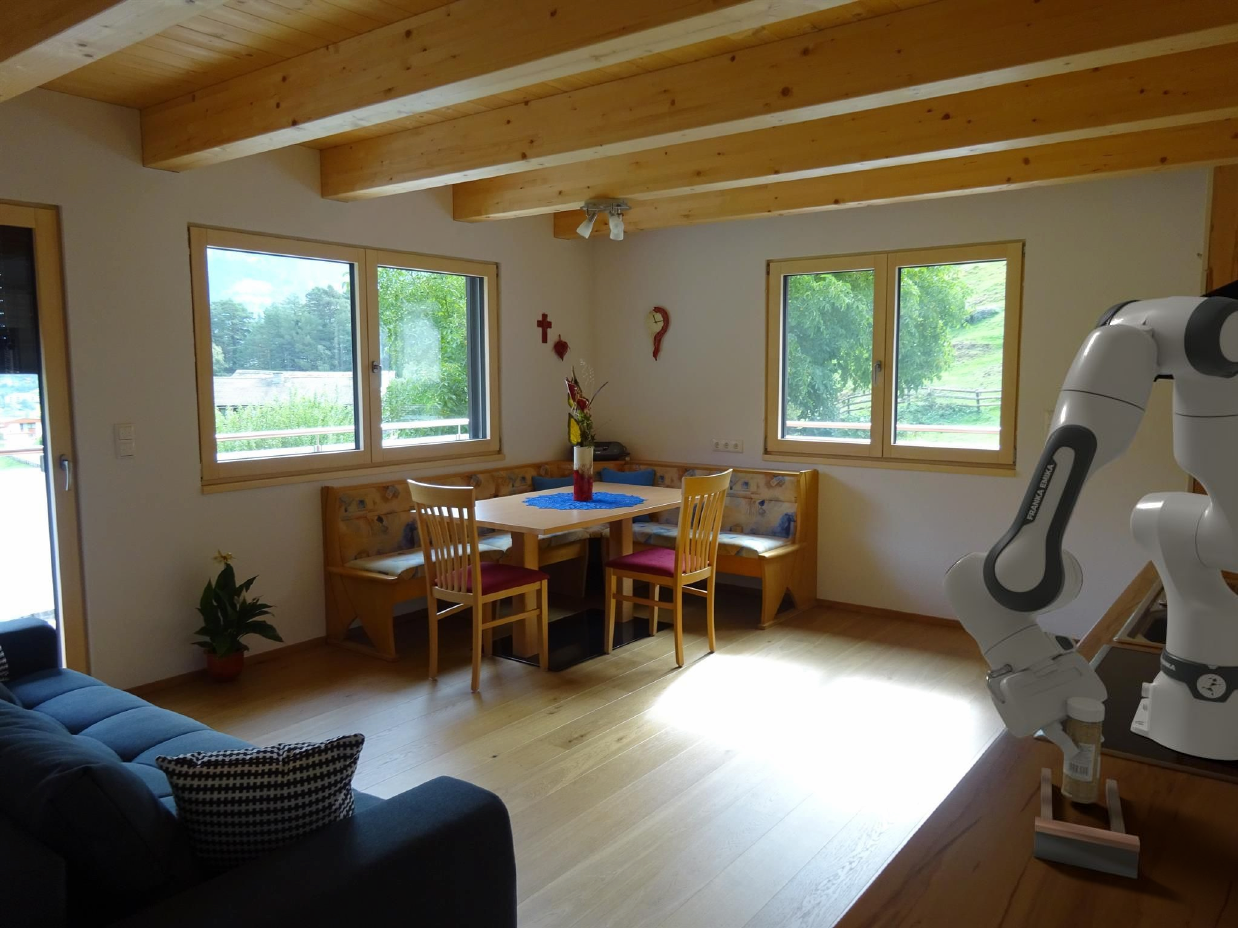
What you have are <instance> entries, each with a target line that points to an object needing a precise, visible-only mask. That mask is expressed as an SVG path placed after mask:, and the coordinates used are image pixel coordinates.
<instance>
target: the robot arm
mask: <svg viewBox="0 0 1238 928" xmlns="http://www.w3.org/2000/svg"><path fill="white" fill-rule="evenodd" d="M1158 375H1161V376H1162V375H1163V376H1166V375H1167V376H1171V375H1172V377H1173V387H1172V436H1173V437H1172V443H1173V457H1174V459H1175V462H1176V463H1177V465H1178V466H1179V467H1180V468H1181V469H1182V470H1183V471H1184V472H1185V473H1187V474H1188V475H1190V476H1191V477H1192V478H1194V479H1196V480H1197V482H1198V483H1200V484H1201V486H1202V487H1203V488H1204V490H1205V492H1206V494H1201V493H1193V492H1187V491H1160V492H1159V491H1158V492H1150V493H1147V494H1146V495H1144V496H1143V497H1142V498H1140V499H1139V501H1137V503H1136V504H1135V506H1134V508H1133V509H1132V511H1131V514H1130V518H1129V530H1130V534H1131V538H1132V539H1133V541H1134V543H1135V544H1136V546H1137V547H1139V548H1140V549H1141V550H1142V551H1143V553H1145V554H1146V555H1147V556H1148V557H1149V559H1150V561H1151V562H1152V563H1153V566H1154V568H1155V569H1156V571H1157V572H1158V575H1159V577H1160V579H1161V582H1162V585H1163V588H1164V591H1165V592H1164V593H1165V596H1166V604H1167V605H1166V606H1167V607H1166V608H1167V618H1166V619H1167V621H1166V623H1167V625H1166V641H1165V643H1166V644H1165V646H1163V648H1162V653H1161V655H1160V664H1159V665H1160V671H1159V673H1158V674H1157V675H1156V676H1155V678H1154V679H1153V682H1152V683H1150V682H1142V687H1141V697H1144V698H1142V699H1141V700H1140V703H1139V705H1138V708H1137V709H1136V713H1135V715H1134V718H1133V720H1132V722H1131V726H1130V731H1131V732H1133V733H1135V734H1137V735H1140V736H1144V737H1146V738H1149V739H1151V740H1153V741H1154V742H1156V743H1157V744H1160V745H1162V746H1163V747H1167V748H1169V749H1171V750H1174V751H1177V752H1179V753H1184V754H1186V755H1187V754H1188V755H1190V756H1194V757H1201V758H1206V759H1211V760H1222V761H1235V760H1236V761H1237V760H1238V594H1236V593H1235V592H1234V591H1233V590H1232V589H1231V588H1230V587H1229V585H1228V584H1227V583H1226V581H1225V579H1224V577H1223V574H1222V571H1225V572H1228V573H1229V572H1230V573H1234V574H1238V299H1234V298H1230V297H1224V296H1219V295H1218V296H1211V297H1205V296H1191V295H1189V296H1188V295H1174V296H1173V295H1172V296H1168V297H1161V298H1150V299H1145V300H1144V299H1143V300H1141V299H1132V300H1127V301H1123V302H1119V303H1116V304H1114V305H1112V306H1110V307H1109V308H1108V309H1107V310H1106V311H1104V313H1103V314H1102V315H1101V317H1099V319H1098V321H1097V323H1096V325H1095V328H1094V330H1092V331H1091V332H1090V333H1089V334H1088V335H1087V337H1086V338H1085V340H1084V342H1083V343H1082V344H1081V347H1080V348H1079V350H1078V351H1077V354H1076V355H1075V357H1074V359H1073V361H1072V363H1071V365H1070V367H1069V369H1068V372H1067V375H1066V376H1065V379H1064V381H1063V384H1062V387H1061V390H1060V393H1059V395H1058V398H1057V401H1056V405H1055V408H1054V411H1053V415H1052V418H1051V422H1050V424H1049V425H1050V426H1049V430H1048V433H1047V437H1046V440H1045V443H1044V447H1043V450H1042V453H1041V455H1040V458H1039V460H1038V462H1037V464H1036V468H1035V469H1034V471H1033V474H1032V477H1031V479H1030V481H1029V484H1028V486H1027V489H1026V492H1025V494H1024V497H1023V499H1022V501H1021V504H1020V507H1019V509H1018V511H1017V514H1016V516H1015V518H1014V520H1013V522H1012V523H1011V526H1010V527H1009V529H1008V530H1007V531H1006V532H1005V534H1003V535H1002V536H1001V538H1000V539H999V540H998V541H996V543H995V544H994V545H993V546H992V547H991V549H990V550H989V551H987V552H980V551H973V552H969V553H967V554H965V555H964V556H962V557H960V558H959V559H957V561H956V562H954V563H953V564H952V565H951V566H950V567H949V568H948V570H947V571H946V573H945V575H944V577H943V579H942V585H941V586H942V590H943V593H944V595H945V598H946V600H947V602H948V604H949V605H950V607H951V609H952V611H953V613H954V614H955V616H956V617H957V619H958V621H959V622H960V623H961V625H962V627H963V628H964V630H965V631H966V632H967V633H968V634H969V635H970V636H972V638H974V640H975V641H976V642H977V644H978V647H979V650H980V653H981V654H982V657H983V658H984V659H985V661H986V662H987V664H988V665H989V666H990V668H991V670H989V671H988V672H987V673H986V679H985V680H986V682H985V685H986V687H987V689H988V691H989V696H990V699H991V701H992V703H993V705H994V708H995V709H996V711H997V713H998V715H999V716H1000V718H1001V719H1002V721H1003V724H1004V725H1005V727H1006V728H1007V730H1008V732H1010V734H1012V735H1013V736H1014V737H1016V738H1017V739H1020V740H1021V739H1023V738H1025V737H1027V736H1030V735H1032V734H1034V733H1037V732H1039V731H1042V733H1043V734H1044V736H1045V738H1047V739H1048V740H1049V741H1051V742H1052V743H1053V744H1055V745H1057V746H1058V747H1060V749H1061V751H1062V753H1063V754H1064V753H1065V755H1066V756H1067V757H1068V758H1071V757H1073V756H1075V755H1077V754H1079V753H1080V752H1082V747H1081V746H1080V745H1079V743H1078V742H1077V740H1076V739H1073V740H1072V739H1071V738H1070V737H1069V736H1068V735H1066V732H1064V731H1063V726H1062V724H1061V723H1060V722H1062V721H1064V720H1067V716H1068V714H1067V710H1066V707H1067V700H1068V699H1070V698H1073V697H1085V698H1090V699H1094V700H1097V701H1099V702H1101V703H1103V701H1106V699H1108V693H1107V689H1106V686H1105V684H1104V683H1103V682H1102V681H1103V680H1102V679H1100V677H1099V675H1098V674H1097V673H1096V672H1095V670H1094V669H1093V667H1092V665H1091V664H1090V663H1089V662H1088V661H1087V659H1086V658H1085V657H1084V656H1083V655H1082V654H1080V653H1078V652H1077V651H1076V650H1078V645H1077V644H1076V642H1075V641H1074V639H1073V638H1072V637H1071V636H1069V635H1064V634H1063V635H1062V634H1058V633H1057V634H1056V633H1052V632H1049V631H1044V630H1043V629H1042V627H1041V626H1040V625H1039V623H1038V622H1037V620H1036V619H1037V617H1039V616H1042V615H1044V614H1048V613H1049V612H1053V611H1057V610H1060V609H1063V608H1065V607H1067V606H1068V605H1069V604H1071V603H1072V602H1073V601H1074V600H1075V599H1076V598H1077V597H1078V595H1079V594H1080V592H1081V589H1082V587H1083V582H1084V576H1083V570H1082V566H1081V565H1080V563H1079V562H1078V561H1079V560H1077V559H1076V557H1075V556H1074V555H1073V554H1072V553H1070V552H1069V551H1068V550H1067V549H1064V548H1063V541H1064V538H1065V535H1066V533H1067V530H1068V528H1069V525H1070V522H1071V520H1072V518H1073V515H1074V513H1075V510H1076V508H1077V505H1078V502H1079V500H1080V499H1081V498H1080V497H1081V495H1082V493H1083V490H1084V489H1085V486H1086V485H1087V484H1088V482H1089V481H1090V480H1091V478H1092V477H1093V476H1094V475H1095V474H1096V473H1098V472H1099V471H1100V470H1102V469H1103V468H1105V467H1107V466H1109V465H1111V464H1113V463H1116V462H1117V461H1118V460H1120V459H1122V458H1123V457H1124V456H1125V454H1126V453H1127V452H1128V451H1129V448H1130V446H1131V445H1132V443H1133V441H1134V440H1135V438H1136V435H1137V434H1138V432H1139V430H1140V428H1141V424H1142V423H1143V420H1144V417H1145V414H1146V411H1147V408H1148V404H1149V402H1150V399H1151V398H1150V397H1151V395H1152V390H1153V385H1154V382H1155V378H1156V377H1157V376H1158ZM1104 741H1105V737H1104V735H1101V743H1103V742H1104Z"/></svg>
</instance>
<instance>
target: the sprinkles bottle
mask: <svg viewBox="0 0 1238 928" xmlns="http://www.w3.org/2000/svg"><path fill="white" fill-rule="evenodd" d="M1066 710H1067V714H1068V716H1067V718H1066V727H1065V728H1066V729H1065V730H1066V731H1065V734H1066V735H1068V736H1069V737H1070V738H1071V739H1072V740H1073V739H1076V740H1077V742H1078V743H1079V745H1080V746H1081V747H1082V752H1080V753H1079V754H1077V755H1075V756H1073V757H1071V758H1068V757H1067V756H1066V755H1065V753H1064V752H1063V767H1062V770H1063V773H1062V786H1061V789H1060V792H1061V794H1062V795H1063V796H1064V797H1065V798H1066V799H1068V800H1070V801H1073V802H1074V803H1075V802H1076V803H1080V804H1094V803H1096V802H1097V801H1098V799H1099V795H1098V790H1099V777H1100V771H1101V747H1102V742H1101V735H1102V733H1103V732H1102V731H1103V722H1104V720H1105V711H1106V708H1105V704H1104V703H1103V702H1099V701H1097V700H1094V699H1090V698H1085V697H1073V698H1070V699H1068V700H1067V707H1066ZM1102 736H1103V735H1102Z"/></svg>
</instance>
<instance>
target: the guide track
mask: <svg viewBox="0 0 1238 928" xmlns="http://www.w3.org/2000/svg"><path fill="white" fill-rule="evenodd" d="M1117 783H1118V782H1117V780H1115V779H1110V778H1106V780H1105V798H1106V805H1107V806H1106V807H1107V813H1108V821H1109V826H1110V830H1105V829H1102V828H1101V829H1100V828H1096V827H1091V826H1087V825H1081V824H1080V825H1079V824H1075V823H1071V822H1065V821H1062V820H1055V819H1053V803H1052V802H1053V798H1052V793H1053V792H1052V789H1053V788H1052V769H1051V768H1046V767H1041V771H1040V816H1035V818H1034V819H1035V820H1034V840H1033V841H1034V842H1033V843H1034V844H1033V857H1034V858H1038V859H1043V860H1047V861H1052V862H1056V863H1061V864H1065V865H1070V866H1075V867H1080V868H1083V869H1084V868H1085V869H1090V870H1095V871H1099V872H1103V873H1108V874H1114V875H1117V876H1122V877H1128V878H1131V879H1135V880H1137V879H1138V870H1139V869H1138V867H1139V858H1140V857H1139V856H1140V850H1141V844H1140V838H1139V836H1137V835H1132V834H1126V828H1125V823H1124V817H1123V812H1122V806H1121V799H1120V794H1119V790H1118V784H1117Z"/></svg>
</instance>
